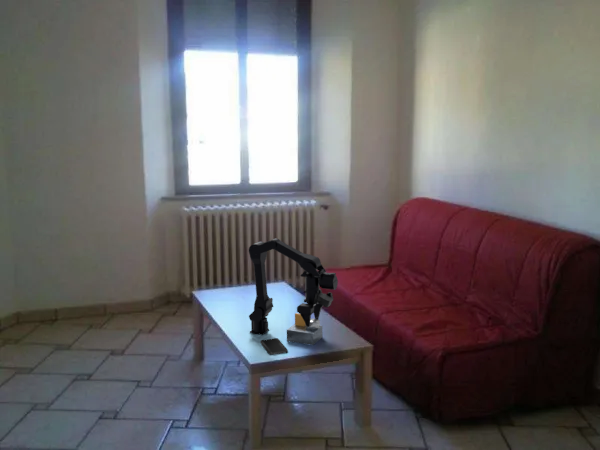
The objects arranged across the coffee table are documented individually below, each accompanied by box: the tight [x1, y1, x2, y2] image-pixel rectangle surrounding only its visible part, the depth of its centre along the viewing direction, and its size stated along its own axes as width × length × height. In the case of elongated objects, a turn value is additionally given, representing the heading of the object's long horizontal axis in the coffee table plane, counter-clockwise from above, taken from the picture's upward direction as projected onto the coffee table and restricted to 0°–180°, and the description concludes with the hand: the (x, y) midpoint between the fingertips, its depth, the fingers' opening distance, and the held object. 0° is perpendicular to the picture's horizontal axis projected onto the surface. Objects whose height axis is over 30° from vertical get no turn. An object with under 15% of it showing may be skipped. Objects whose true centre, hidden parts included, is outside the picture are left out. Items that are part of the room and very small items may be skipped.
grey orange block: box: [294, 312, 306, 326], centre depth 250 cm, size 4×3×5 cm, turn 65°
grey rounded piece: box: [306, 318, 321, 330], centre depth 247 cm, size 6×6×7 cm
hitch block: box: [286, 323, 323, 346], centre depth 247 cm, size 12×10×5 cm
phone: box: [259, 337, 289, 356], centre depth 239 cm, size 8×1×15 cm
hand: (312, 323), depth 247 cm, fingers open, 9 cm apart
